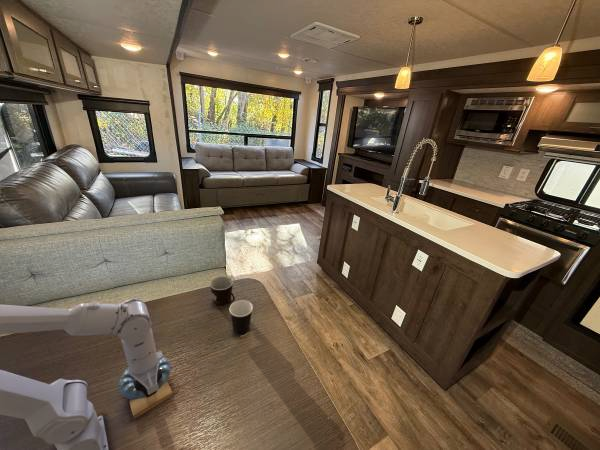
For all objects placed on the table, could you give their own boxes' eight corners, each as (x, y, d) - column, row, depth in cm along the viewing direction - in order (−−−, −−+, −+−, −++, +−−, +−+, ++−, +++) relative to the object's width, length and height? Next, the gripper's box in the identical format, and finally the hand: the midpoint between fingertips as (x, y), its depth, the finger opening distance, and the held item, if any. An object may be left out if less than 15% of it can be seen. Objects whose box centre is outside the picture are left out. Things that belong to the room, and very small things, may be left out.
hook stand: (172, 395, 67) (169, 380, 64) (134, 419, 61) (129, 403, 58) (162, 370, 73) (159, 356, 70) (126, 390, 67) (121, 375, 64)
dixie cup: (254, 337, 86) (255, 313, 82) (231, 343, 83) (230, 318, 79) (250, 321, 93) (250, 298, 89) (228, 325, 90) (227, 302, 86)
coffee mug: (210, 298, 102) (208, 278, 98) (231, 294, 106) (230, 274, 102) (213, 318, 93) (212, 297, 89) (236, 312, 96) (236, 292, 92)
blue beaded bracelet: (176, 382, 65) (175, 374, 63) (125, 412, 57) (123, 404, 56) (162, 352, 72) (161, 345, 71) (116, 376, 64) (114, 368, 63)
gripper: (169, 361, 54) (176, 400, 59) (151, 321, 63) (158, 358, 69) (132, 382, 49) (143, 422, 55) (118, 335, 59) (128, 373, 64)
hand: (149, 388), depth 61 cm, fingers closed on blue beaded bracelet, 3 cm apart
